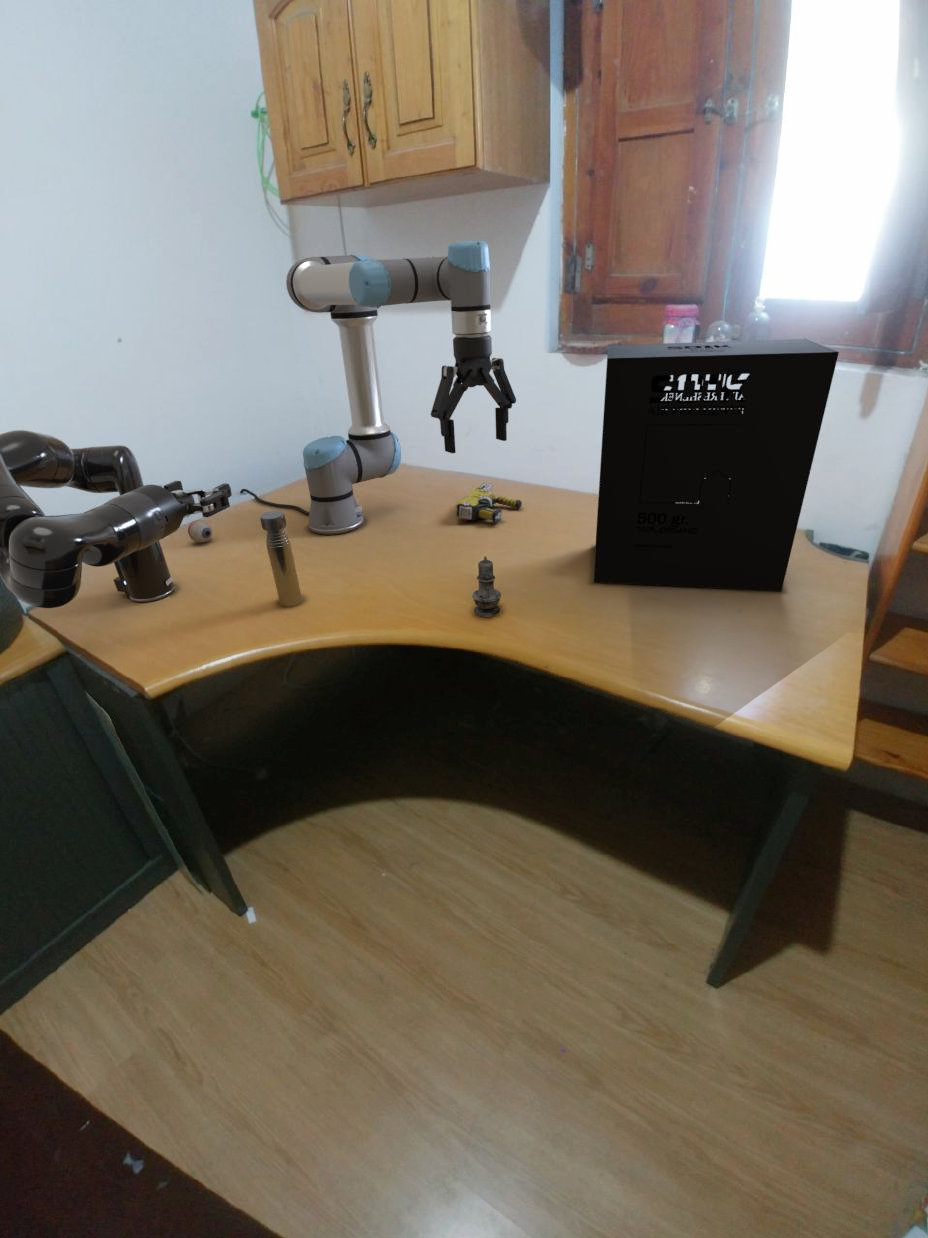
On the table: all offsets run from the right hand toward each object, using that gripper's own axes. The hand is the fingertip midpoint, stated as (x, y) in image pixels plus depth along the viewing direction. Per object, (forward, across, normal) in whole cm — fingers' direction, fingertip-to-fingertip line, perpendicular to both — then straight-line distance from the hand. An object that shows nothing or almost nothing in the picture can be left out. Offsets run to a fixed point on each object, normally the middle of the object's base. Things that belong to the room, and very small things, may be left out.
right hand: (476, 445), depth 127 cm
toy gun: (+28, +26, +27) cm, 47 cm away
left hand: (-4, -56, 0) cm, 56 cm away
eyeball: (+28, -46, +63) cm, 83 cm away
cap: (+8, -42, +14) cm, 45 cm away
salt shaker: (+28, -12, -18) cm, 35 cm away
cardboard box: (+28, +33, -31) cm, 53 cm away
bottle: (+28, -42, +14) cm, 52 cm away
